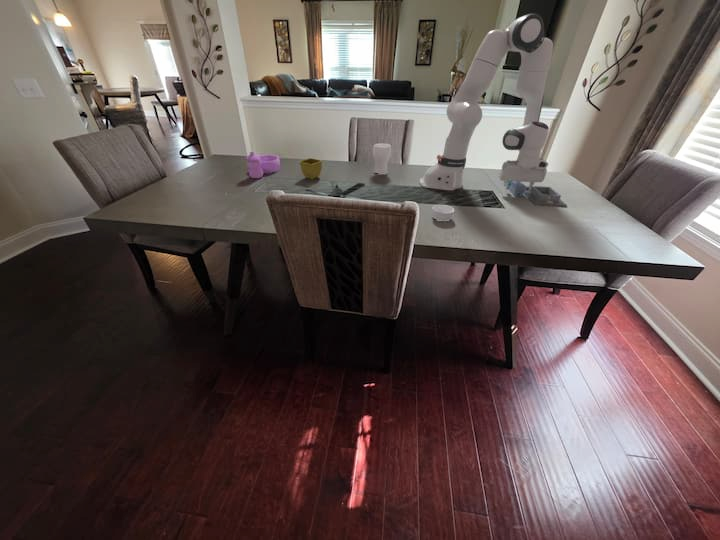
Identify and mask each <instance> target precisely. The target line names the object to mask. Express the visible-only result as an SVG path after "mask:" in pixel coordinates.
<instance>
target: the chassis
mask: <svg viewBox="0 0 720 540" xmlns="http://www.w3.org/2000/svg"><path fill="white" fill-rule="evenodd" d="M523 195H524V196H525V197H526V198H527V199H528V200H529V201H530V202H531V203H532V204H533V205H534V206H545V207H563V208H565V207H566V208H567V207H568V204H567V203H565V201H564V200H562V199H561V197H562V195H561V194H559V192H557V190H555V189H554V188H552V187H551V186H543V185H541V186H539V185H532V186H531V187H530V189H529V191H524V192H523Z"/></svg>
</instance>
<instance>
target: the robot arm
mask: <svg viewBox="0 0 720 540" xmlns="http://www.w3.org/2000/svg"><path fill="white" fill-rule="evenodd" d="M543 19H544V18H542V16H540V14H537V13H528V14H525V15H522V16H519V17H518V18H516V19H515V20H514V21H512V22H509V24H508V25H507V26H506V27H505V28H504V29H503V30H501V29H492V30H490V31H489V32H488V33H487V34H486V35H485V36H484V38H483V40H482V42H481V43H480V45H479V47H478V49H477V51H476V53H475V56H474V57H473V59H472V62H471V64H470V66H469V69H468V71H467V73H466V75H465V78H464V80H463V82H462V83H461V85H460V87H459V89H458V90H457V92H456V94H455V95H454V97H453V98H452V100H451V101H450V102H449V103H448V105H447V107H446V116H447V119H448V120H449V122H451V123H452V125H451V128H450V131H449V133H448V135H447V137H446V138H445V144H444V149H443V153H442V154H443V155H441V154H437V156H436V160H437V163H435V164H434V165H432V166H431V167H428V168H427V170H426V172H425V173H424V176H422V177H420V178H419V185H420V186H421V187H423V188H427V189H435V190H441V191H442V190H444V191H455V190H456V189H461V188H462V187H463V176H464V175H463V173H464V169H465V167H466V163H467V154H468V153H467V152H468V149H469V145H470V141H471V139H472V137H473V134H474V131H475V129H476V127H478V125H479V124H480V122H481V120H482V118H483V111H482V110H483V109H482V108H481V106H480V104H479V103H478V101H479V100H480V98H481V97H482V96H483V95H484V93H486V92H487V91H488V89H489V88H490V87H491V84H492V82H493V80H494V77H495V75H496V73H497V71H498V69H499V67H500V65H501V63H502V60H503V59H504V58H505V56H506V55H507V53H516V52H517V53H520V57H521V61H520V63H521V64H520V67H519V70H518V74H517V78H516V86H515V87H516V91H517V93H518V94H519V95H520V96H521V97H522V98H523V99H524V101H525V103H526V107H525V114H524V120H523V123H522V125H521V126H518V127H514V128H513V127H512V128H511V129H508V130H506V132H504V135H503V137H502V146H503V148H505V149H506V150H508V151H518V156H517V158H516V160H509V159H508V160H506V161H504V162H503V163H502V167H501V169H500V172H499V175H498V178H499V180H500V181H503V182H504V181H505V183H504V184H505V187H504V189H505V190H506V191H507V190H508V191H509V189H510V187H511V185H508V183H510V181H521V182H522V183H526V182H527V183H528V182H529V183H528V185H525V186H526V187H525V189H526V191H529V189H530V188H531V186H535V183H542V182H543V181H544V180H545V179H546V176H547V172H548V169H547V167H548V166H549V162H547V161H546V160H544V159H542V157H541V154H542V153H541V151H542V150H543V148H544V147H545V144H546V141H547V138H548V135H549V132H550V131H549V129H550V128H549V126H548V125H547V124H546V123H544V122H541V121H540V118H541V113H542V108H543V104H544V98H545V87H546V81H547V77H548V74H549V70H550V66H551V62H552V58H553V49H554V42H553V41H552V40H551V39H550V38H549V37H546V33H545V23H544V20H543ZM540 157H541V158H540Z"/></svg>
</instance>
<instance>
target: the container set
mask: <svg viewBox="0 0 720 540" xmlns="http://www.w3.org/2000/svg"><path fill="white" fill-rule="evenodd" d="M245 160H247V161H246V165H247V166H248V167H249V170H248V174H249V176H250V177H251V178H252V179H254V178H258V179H261V178H262V177H263V176H264V174H263V173H269V174H273V173H272V172H275V173H277V172H276V171H278V172H280V171H281V170H280V169H281V161H280V157H279V156H277V155H274V154H262V155H258V154H255V151H250V152H249V154H248V155H247V156H246V159H245ZM279 170H280V171H279ZM260 177H261V178H260Z"/></svg>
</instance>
